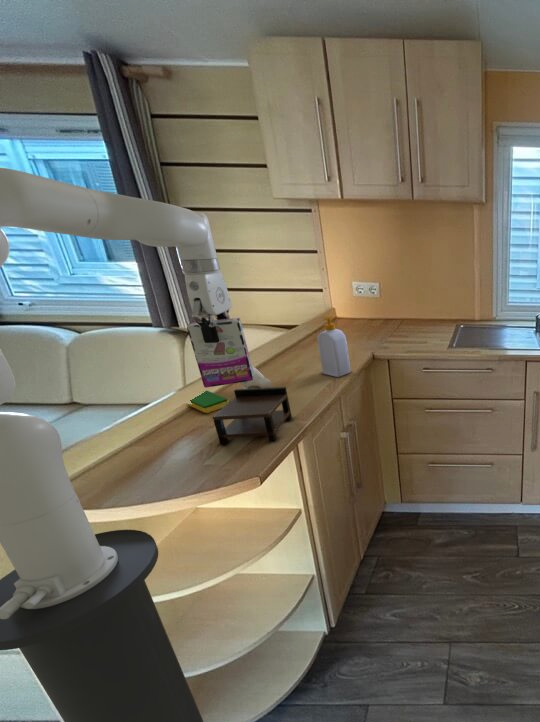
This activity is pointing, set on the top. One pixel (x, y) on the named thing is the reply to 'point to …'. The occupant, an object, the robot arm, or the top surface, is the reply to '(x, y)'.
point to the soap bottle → (333, 350)
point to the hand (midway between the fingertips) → (219, 338)
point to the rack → (253, 414)
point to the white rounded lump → (257, 380)
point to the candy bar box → (222, 354)
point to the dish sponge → (208, 402)
